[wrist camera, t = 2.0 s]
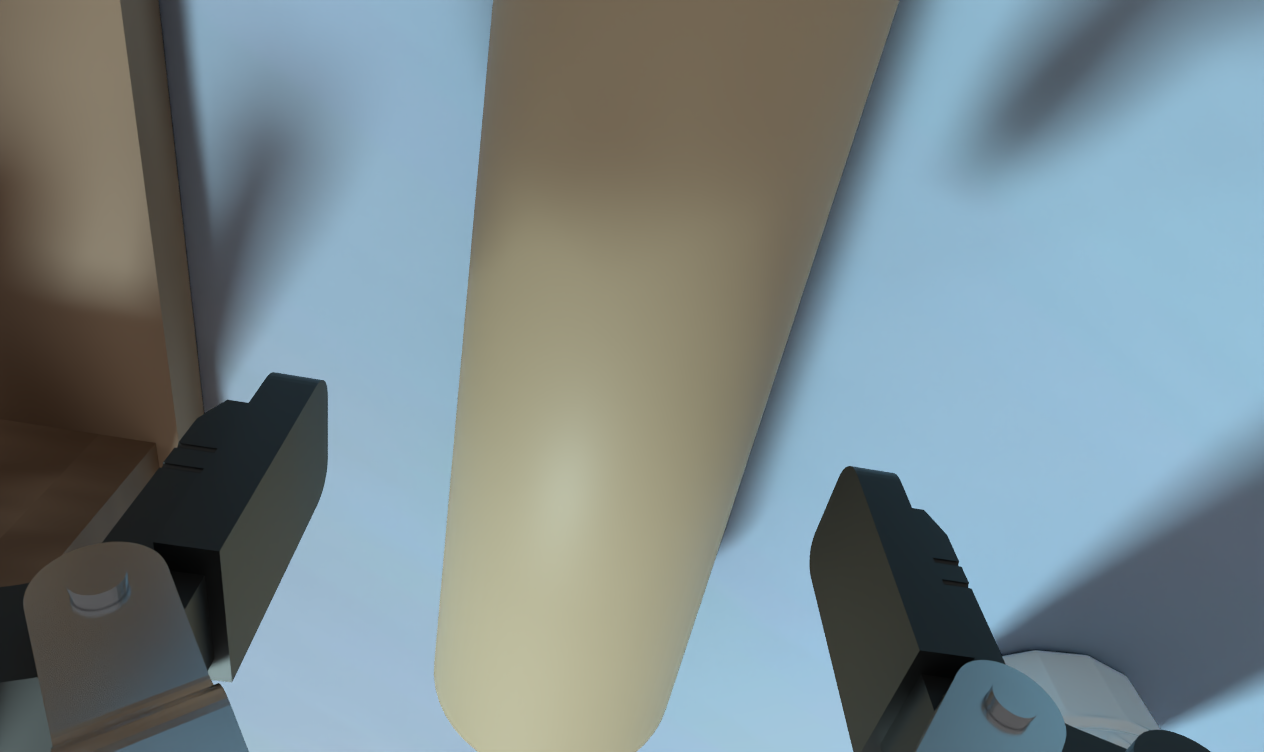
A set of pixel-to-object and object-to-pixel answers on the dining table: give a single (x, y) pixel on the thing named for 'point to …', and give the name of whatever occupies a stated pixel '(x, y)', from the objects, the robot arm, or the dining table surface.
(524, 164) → the cylinder
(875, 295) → the dining table surface
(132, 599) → the robot arm
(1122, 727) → the white cup
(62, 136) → the roll stand
